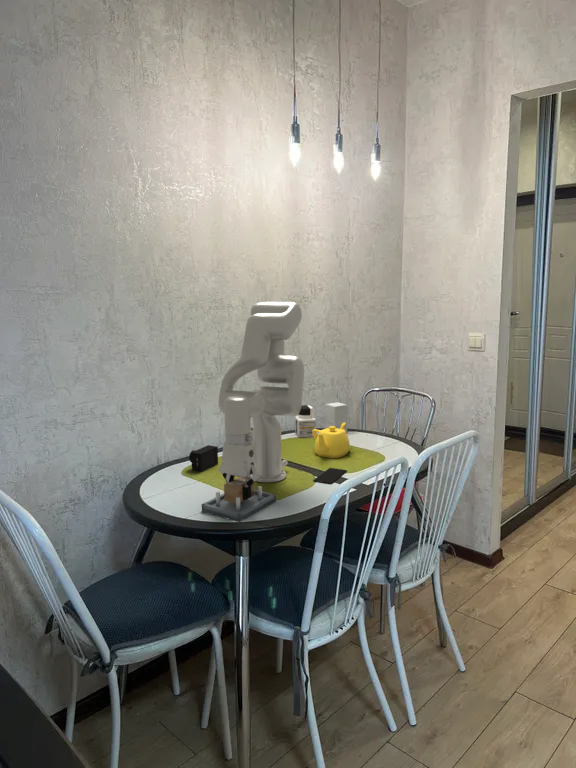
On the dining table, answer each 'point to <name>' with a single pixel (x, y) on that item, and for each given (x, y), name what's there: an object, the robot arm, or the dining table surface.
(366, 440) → the dining table surface
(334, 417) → the supplement box
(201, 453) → the digital camera
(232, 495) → the labeled cardboard box
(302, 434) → the container
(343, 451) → the teapot
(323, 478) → the smartphone
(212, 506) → the tray
